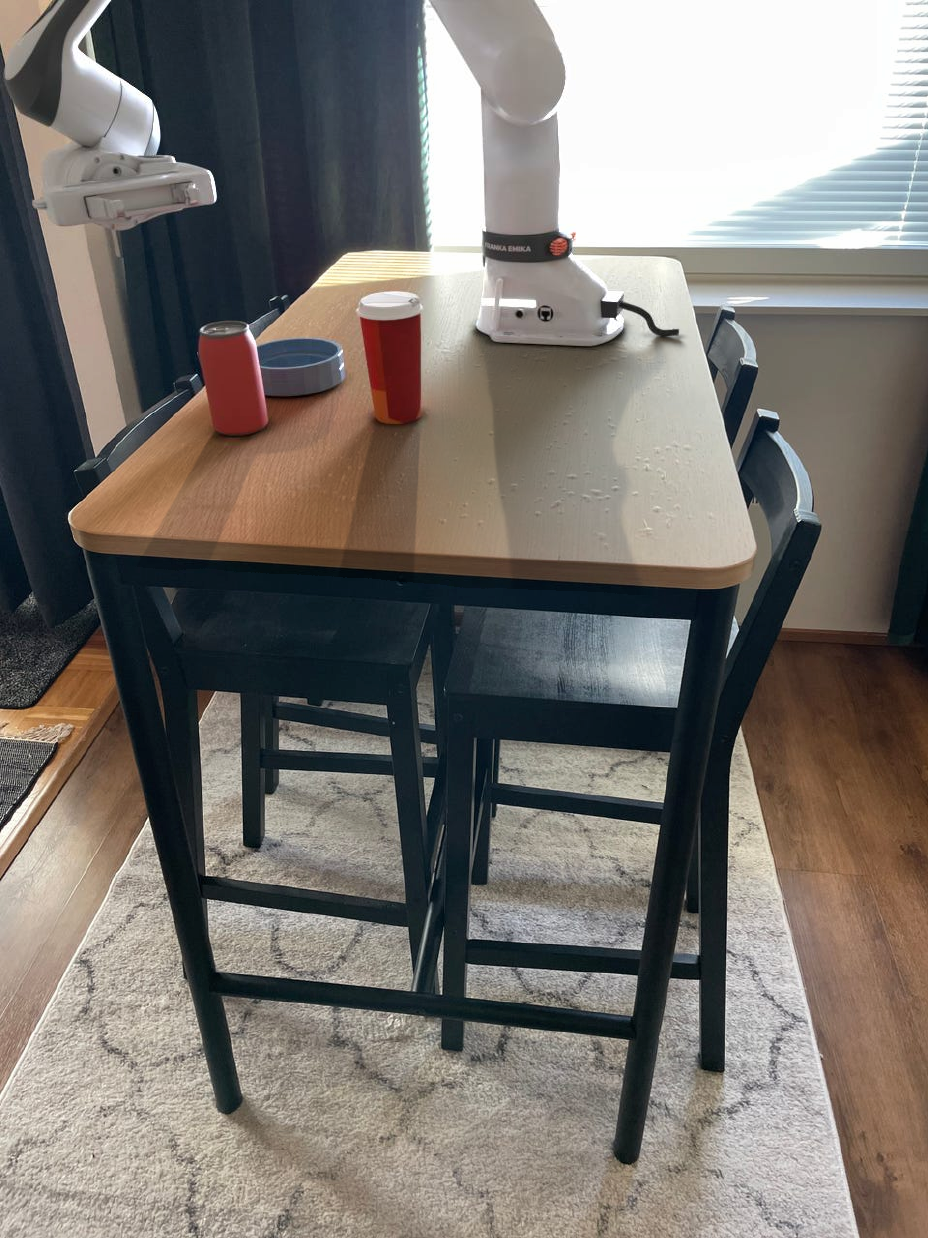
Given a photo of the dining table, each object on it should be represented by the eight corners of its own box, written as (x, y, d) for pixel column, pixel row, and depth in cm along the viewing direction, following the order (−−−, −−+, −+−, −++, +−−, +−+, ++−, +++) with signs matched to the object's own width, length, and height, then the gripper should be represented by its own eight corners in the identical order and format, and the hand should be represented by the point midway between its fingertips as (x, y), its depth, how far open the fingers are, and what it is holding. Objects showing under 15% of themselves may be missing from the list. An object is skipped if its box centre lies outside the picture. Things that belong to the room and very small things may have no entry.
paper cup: (438, 407, 115) (432, 291, 107) (415, 430, 109) (407, 309, 101) (380, 401, 117) (370, 288, 110) (355, 424, 111) (343, 305, 104)
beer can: (217, 419, 114) (198, 321, 107) (271, 415, 115) (255, 317, 108) (210, 439, 109) (190, 337, 102) (266, 436, 109) (250, 334, 102)
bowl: (363, 371, 127) (360, 342, 125) (310, 404, 117) (306, 373, 115) (283, 361, 132) (279, 333, 130) (226, 391, 122) (221, 362, 120)
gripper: (19, 173, 108) (60, 185, 99) (180, 153, 119) (231, 162, 110) (35, 230, 112) (76, 247, 103) (190, 206, 122) (240, 219, 113)
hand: (157, 203), depth 106 cm, fingers open, 8 cm apart
